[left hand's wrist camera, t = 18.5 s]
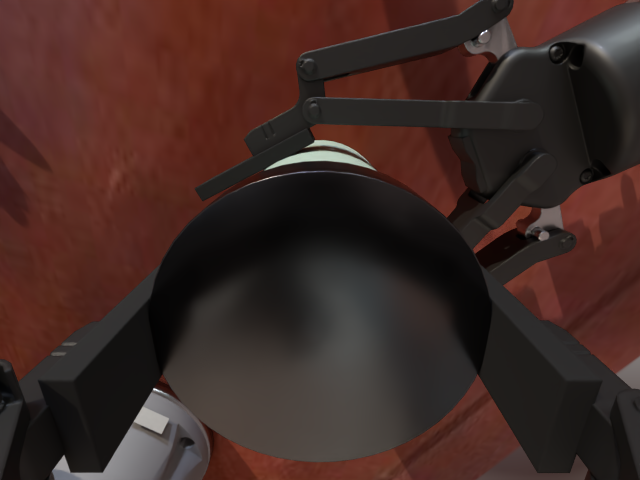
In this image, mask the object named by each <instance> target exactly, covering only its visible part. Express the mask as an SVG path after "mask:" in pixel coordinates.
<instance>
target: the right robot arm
mask: <svg viewBox="0 0 640 480" xmlns="http://www.w3.org/2000/svg"><path fill="white" fill-rule="evenodd" d="M513 3H514V1H513V0H480V1H478V2H477V3H475V4H474V5H472V6H471V7H469V8H468V9H466V10H465V11H463V12H462V13H460V14H459V15H456V16H452V17H448V18H443V19H439V20H435V21H431V22H427V23H423V24H419V25H415V26H411V27H407V28H403V29H399V30H395V31H390V32H386V33H382V34H378V35H374V36H370V37H366V38H362V39H358V40H354V41H350V42H346V43H342V44H337V45H333V46H329V47H325V48H321V49H317V50H313V51H309V52H305V53H303V54H301V56H300V57H299V58H298V60H297V63H296V70H297V75H298V82H299V90H300V96H299V100H298V102H297V104H296V105H295V106H294V107H293V108H291V109H290V110H288V111H286V112H284V113H282V114H280V115H279V116H277V117H275V118H273V119H271V120H270V121H268V122H266V123H264V124H262V125H261V126H259V127H257V128H255V129H253V130H251V131H250V132H249V133H248V135H247V136H246V137H245V139H244V141H245V142H246V144H247V146H248V148H249V149H250V151H251V153H252V155H253V156H252V157H251V158H249V159H247V160H245V161H243V162H241V163H239V164H238V165H236V166H234V167H232V168H230V169H228V170H226V171H224V172H223V173H221V174H219V175H217V176H215V177H213V178H211V179H210V180H208V181H206V182H205V183H203V184H201V185H200V186H198V187H196V188H195V190H196V192H197V193H198V195H199V196H200V198H201V200H202V201H204V200H206V199H208V198H210V197H212V196H214V195H216V194H217V193H219V192H221V191H223V190H225V189H227V188H229V187H231V186H233V185H235V184H237V183H238V182H240V181H242V180H244V179H246V178H248V177H250V176H252V175H254V174H256V173H257V172H259V171H261V170H263V169H265V168H267V167H269V166H271V165H273V164H275V163H276V162H278V161H280V160H282V159H284V158H286V157H288V156H290V155H292V154H294V153H296V152H297V151H299V150H301V149H303V148H305V147H307V146H309V145H311V144H313V143H314V141H315V138H314V136H313V134H312V132H311V130H310V127H312V126H314V125H316V124H334V125H370V126H407V127H442V128H451V135H449V136H448V138H449V141H450V144H451V146H452V149H453V150H454V152H455V153H456V154H457V156H458V157H459V159H460V160H461V173H462V177H463V180H464V182H465V185H466V186H467V187H468V188H467V190H466V191H465V192H464V193H463V194H462V195H461V197H460V198H459V199H458V201H457V206H456V208H455V209H454V210H453V212H452V213H451V214H450V215H449V216H448V217H447V219H448V220H449V221H450V222H451V223H452V224H453V225H454V226H455V227H456V228H457V229H458V230H459V231H460V233H461V234H462V235H463V237H464V238H465V240H466V241H467V242H468V244H469V245H470V246H471V248H472V249H473V248H474V247H475V246H476V245H477V244H478V243H479V242H480V241H481V239H482V238H483V237H484V236H485V235H486V234H487V233H488V232H489V231H491V230H493V229H497V228H499V227H500V226H501V225H502V224H503V223H504V222H505V221H506V220H507V219H508V218H509V217H510V216H511V215H512V214H513V212H514V211H515V210H516V209H517V208H518V207H519V206H520V205H521V206H527V207H532V210H531V213H530V214H529V215H528V216H527V217H526V218H524V219H519V220H518V221H517V222H516V227H517V228H515V229H513V230H510V231H508V232H506V233H504V234H503V235H501V236H500V237H498V238H496V239H495V240H494V241H492V242H491V243H489V244H488V245H487V246H485V247H484V248H483V249H481V250H480V251H478V252H477V253H476V254H475V255H476V257H477V259H478V261H479V263H480V265H481V266H483V267H484V268H485V269H486V270H487V271H488V272H489V273H490V274H491V275H492V276H493V277H494V278H495V279H496V280H497V281H498V282H499V283H501V284H502V285H504V284H506V283H507V282H509V281H510V280H512V279H513V278H514V277H516V276H517V275H519V274H520V273H522V272H523V271H525V270H526V269H528V268H529V267H531V266H532V265H534V264H535V263H537V262H540V261H543V260H546V259H549V258H552V257H555V256H558V255H561V254H564V253H567V252H569V251H571V250H572V249H573V248H574V247H575V245H576V240H577V239H576V237H575V235H573V234H572V233H570V232H568V231H566V230H564V228H563V223H562V216H561V210H560V204H562V203H563V202H564V201H565V200H566V199H567V198H568V197H569V196H570V195H571V194H572V193H573V192H574V191H575V190H577V189H578V188H579V187H581V186H583V185H585V184H588V183H591V182H594V181H598V180H601V179H604V178H607V177H610V176H613V175H615V174H618V173H620V172H622V171H624V170H627V169H629V168H631V167H633V166H636V165H638V164H640V0H628V1H627V2H626V3H624V4H620V5H617V6H615V7H612V8H610V9H608V10H606V11H604V12H602V13H600V14H598V15H597V16H595V17H593V18H591V19H589V20H587V21H585V22H583V23H581V24H579V25H577V26H575V27H573V28H571V29H569V30H568V31H566V32H564V33H562V34H560V35H558V36H556V37H554V38H552V39H550V40H548V41H546V42H544V43H542V44H540V45H538V46H536V47H517V44H516V42H515V39H514V36H513V34H512V31H511V29H510V26H509V23H508V21H507V18H506V17H507V16H508V15H509V14H510V12H511V10H512V8H513ZM455 47H458V50H459V52H460V53H461V54H462V55H463V56H465V57H472V56H475V55H483V56H485V57H486V58H487V59H488V61H489V63H488V64H487V66H486V67H485V69H484V71H483V72H482V74H481V75H480V77H479V79H478V80H477V82H476V84H475V85H474V87H473V89H472V90H471V92H470V93H469V95H468V97H467V98H466V100H465V101H434V100H398V99H362V98H326V97H325V90H324V82H326V81H331V80H335V79H339V78H343V77H347V76H352V75H356V74H360V73H364V72H368V71H373V70H377V69H381V68H385V67H389V66H394V65H398V64H402V63H406V62H410V61H415V60H419V59H423V58H427V57H431V56H435V55H438V54H442V53H444V52H446V51H449V50H451V49H453V48H455ZM487 199H488V200H489V201H488V202H487V203H485V202H486V201H487ZM484 203H485V204H484Z"/></svg>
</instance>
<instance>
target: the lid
mask: <svg viewBox="0 0 640 480" xmlns="http://www.w3.org/2000/svg"><path fill="white" fill-rule="evenodd" d="M149 323H150V328H151V333H152V338H153V343H154V348H155V353H156V358H157V362H158V364H159V367H160V369H161V372H162V374H163V375H164V377H165V379H166V381H167V382H168V384H169V386H170V388H171V389H172V390H173V392H174V393H175V394H176V396H177V397H178V398H179V399H180V401H181V402H182V403H183V404H184V405H185V406H186V407H187V408H188V409H189V410H190V411H191V412H192V414H193V415H194V416H195V417H197V418H198V419H199V420H200V421H202V422H203V423H204V424H205V425H207V426H208V427H209V428H211V429H212V430H214V431H215V432H217V433H218V434H220V435H222V436H223V437H225V438H227V439H229V440H231V441H233V442H235V443H237V444H239V445H241V446H243V447H246V448H248V449H251V450H254V451H256V452H259V453H262V454H266V455H270V456H274V457H277V458H283V459H289V460H295V461H307V462H336V461H344V460H353V459H357V458H362V457H367V456H371V455H375V454H378V453H381V452H384V451H387V450H390V449H392V448H395V447H397V446H399V445H401V444H404V443H406V442H408V441H410V440H412V439H413V438H415V437H417V436H419V435H420V434H422V433H424V432H425V431H427V430H428V429H429V428H431V427H432V426H434V425H435V424H436V423H438V422H439V421H440V420H441V419H442V418H443V417H444V416H446V415H447V414H448V413H449V412H450V411H451V410H452V409H453V408H454V407H455V406H456V404H457V403H458V402H459V401H460V400H461V399H462V398H463V396H464V395H465V394H466V392H467V391H468V389H469V388H470V386H471V385H472V383H473V382H474V380H475V378H476V376H477V374H478V372H479V370H480V368H481V365H482V363H483V359H484V355H485V350H486V345H487V340H488V335H489V330H490V325H491V302H490V296H489V289H488V285H487V282H486V279H485V276H484V273H483V270H482V267H481V265H480V263H479V261H478V259H477V257H476V255H475V253H474V251H473V249H472V248H471V246H470V245H469V244H468V242H467V241H466V240H465V238H464V237H463V235H462V234H461V233H460V231H459V230H458V229H457V228H456V227H455V226H454V225H453V224H452V223H451V222H450V221H449V220H448V219H447V218H446V217H445V216H444V215H443V214H442V213H441V212H439V211H438V210H437V209H436V208H435V207H433V206H432V205H431V204H430V203H428V202H427V201H426V200H425V199H424V198H422V197H421V196H420V195H418V194H417V193H416V192H414V191H413V190H412V189H410V188H409V187H408V186H406V185H405V184H403V183H401V182H399V181H397V180H396V179H394V178H392V177H390V176H388V175H386V174H383V173H380V172H378V171H375V170H373V169H370V168H367V167H363V166H359V165H354V164H350V163H344V162H334V161H303V162H297V163H291V164H285V165H281V166H277V167H274V168H271V169H268V170H265V171H261V172H259V173H257V174H255V175H253V176H251V177H249V178H246V179H244V180H242V181H241V182H239V183H238V184H236V185H235V186H233V187H231V188H230V189H228V190H227V191H225V192H224V193H223V194H222V195H220V196H219V197H218V198H217V199H216V200H214V201H213V202H212V203H211V204H210V205H208V206H207V207H206V208H205V209H204V210H202V211H201V212H200V213H199V214H198V215H197V216H196V217H195V218H193V219H192V220H191V221H190V222H189V223H188V224H187V225H186V226H185V227H184V229H183V230H182V231H181V232H180V233H179V235H178V236H177V237H176V238H175V239H174V241H173V242H172V244H171V246H170V247H169V249H168V251H167V252H166V254H165V256H164V257H163V259H162V261H161V264H160V266H159V269H158V271H157V274H156V276H155V279H154V283H153V287H152V292H151V296H150V307H149Z"/></svg>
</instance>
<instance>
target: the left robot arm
mask: <svg viewBox="0 0 640 480" xmlns="http://www.w3.org/2000/svg"><path fill="white" fill-rule="evenodd" d="M159 266H160V265H159ZM159 266H158V267H157V268H156V269H155V270H154V271H153V272H152V273H150V274H149V275H148V276H147V277H146V278H145V279H144V280H143V281H142V282H141V283H140V284H139V285H138V286H137V287H136V288H135V289H134V290H132V291H131V292H130V293H129V294H128V295H127V296H126V297H125V298H124V299H123V300H122V301H121V302H120V303H119V304H118V305H117V306H116V307H114V308H113V309H112V310H111V311H110V312H109V313H108V314H107V315H106V316H105V317H104V318H103V319H102V320H101V321H100V322H91V323H89V324H88V325H86V326H84V327H82V328H80V329H79V330H77V331H75V332H74V333H73V334H72V335H70V336H69V337H68V338H67V339H66V340H65V341H64V342H63V343H62V345H61V346H58V347H57V348H56V349H55V350H54V351H52V352H51V354H50V356H47V357H46V358H45V359H44V360H42V361H41V362H40V363H39V364H38V365H37V366H36V367H35V368H33V369H32V370H31V371H30V372H29V373H28V374H27V375H26V376H24V377H23V378H22V379H21V380H20V381H19V382H18V380H17V377H16V375H15V372H14V370H13V367H12V364H11V363H10V362H8V361H6V360H3V359H0V480H202V479H203V476H204V474H205V472H206V470H207V468H208V464H209V461H210V458H211V455H212V451H213V434H212V430H211V428H209V427H208V426H207V425H205V424H204V423H203V422H202V421H200V420H199V419H198V418H197V417H195V416H194V415H193V414H192V412H191V411H190V410H189V409H188V408H187V407H186V406H185V405H184V404H183V403H182V402H181V401H180V399H179V398H178V397H177V396H176V394H175V393H174V392H173V390H172V389H171V388H170V386H169V385H167V384H165V383H162V382H160V381H159V379H160V377H161V376H162V372H161V369H160V367H159V364H158V362H157V358H156V353H155V348H154V343H153V338H152V333H151V328H150V323H149V307H150V296H151V292H152V287H153V283H154V279H155V276H156V274H157V271H158V269H159ZM481 267H482V270H483V273H484V276H485V279H486V282H487V285H488V289H489V296H490V302H491V325H490V330H489V335H488V340H487V345H486V350H485V355H484V359H483V363H482V365H481V368H480V370H479V372H478V375H479V377H480V378H481V380H482V382H483V383H484V385H485V387H486V388H487V390H488V392H489V393H490V395H491V397H492V398H493V400H494V402H495V403H496V405H497V407H498V408H499V410H500V411H501V413H502V415H503V416H504V418H505V420H506V421H507V423H508V425H509V426H510V428H511V430H512V431H513V433H514V435H515V436H516V438H517V440H518V441H519V443H520V445H521V446H522V448H523V450H524V451H525V453H526V454H527V456H528V458H529V460H530V461H531V463H532V464H533V466H534V468H535V469H536V471H537V473H570V471H571V468H572V465H573V463H574V460H575V457H576V454H577V455H578V456H579V457H580V459H581V460H582V461H583V463H584V464H585V465H586V467H587V468H588V472H587V475H586V477H585V480H640V390H639V389H632V388H630V387H629V386H628V385H627V384H626V383H625V382H624V381H623V380H621V379H620V378H619V377H618V376H617V375H616V374H615V373H613V372H612V371H611V370H610V369H609V368H608V367H607V366H606V365H604V364H603V363H602V362H601V361H600V360H599V359H598V358H597V357H595V356H594V355H591V354H590V351H589V350H587V349H586V348H585V347H584V346H583V345H580V344H579V342H578V341H577V340H576V339H575V338H574V337H573V336H572V335H571V334H569V333H568V332H567V331H566V330H564V329H562V328H561V327H559V326H557V325H555V324H553V323H552V322H550V321H544V320H539V319H538V318H536V317H535V316H534V315H533V314H532V313H531V312H530V311H529V310H528V309H527V308H526V307H525V306H524V305H523V304H522V303H521V302H520V301H518V300H517V299H516V298H515V297H514V296H513V295H512V294H511V293H510V292H509V291H508V290H507V289H506V288H505V287H504V286H503V285H502V284H501V283H499V282H498V281H497V280H496V279H495V278H494V277H493V276H492V275H491V274H490V273H489V272H488V271H487V270H486V269H485V268H484V267H483V266H481Z"/></svg>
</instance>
